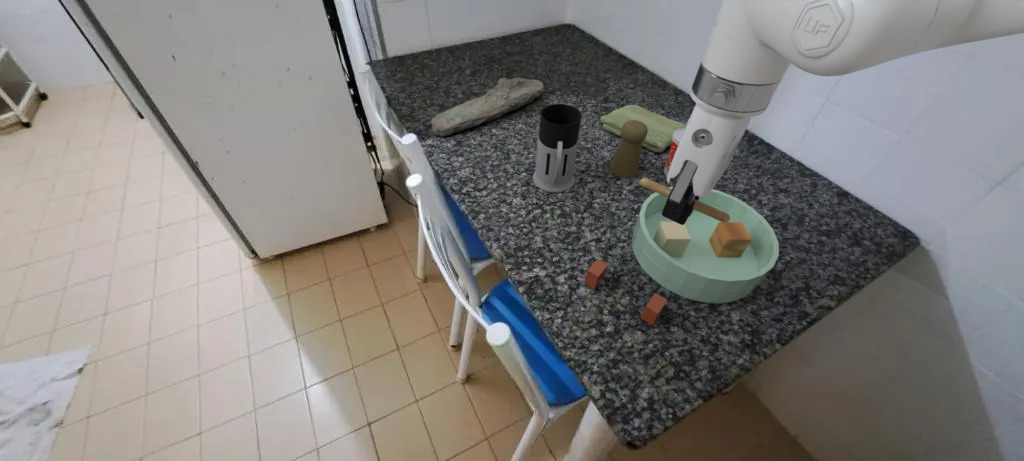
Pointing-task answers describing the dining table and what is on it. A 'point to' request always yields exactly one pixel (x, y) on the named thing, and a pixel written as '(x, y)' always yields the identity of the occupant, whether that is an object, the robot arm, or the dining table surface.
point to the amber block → (730, 239)
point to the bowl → (706, 251)
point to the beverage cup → (673, 148)
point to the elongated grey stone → (487, 105)
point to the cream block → (672, 238)
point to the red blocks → (652, 308)
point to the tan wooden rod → (698, 205)
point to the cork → (629, 149)
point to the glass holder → (557, 147)
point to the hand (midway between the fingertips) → (676, 215)
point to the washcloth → (656, 124)
